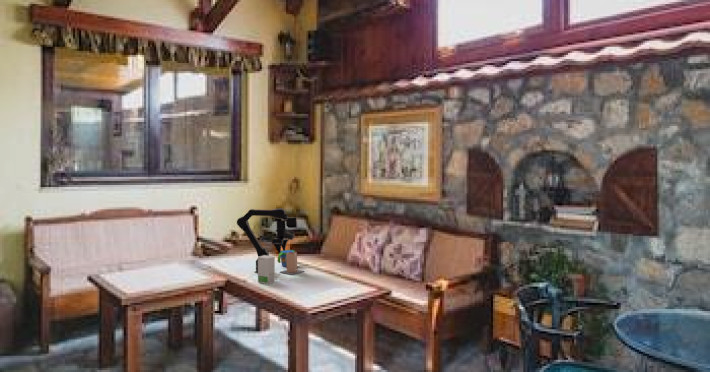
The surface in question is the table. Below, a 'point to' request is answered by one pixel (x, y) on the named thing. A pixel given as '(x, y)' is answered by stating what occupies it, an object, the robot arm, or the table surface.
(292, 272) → the slate coaster
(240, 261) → the table surface
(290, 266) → the tan rectangular block
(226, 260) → the table surface
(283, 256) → the snack cup
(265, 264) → the skincare box
